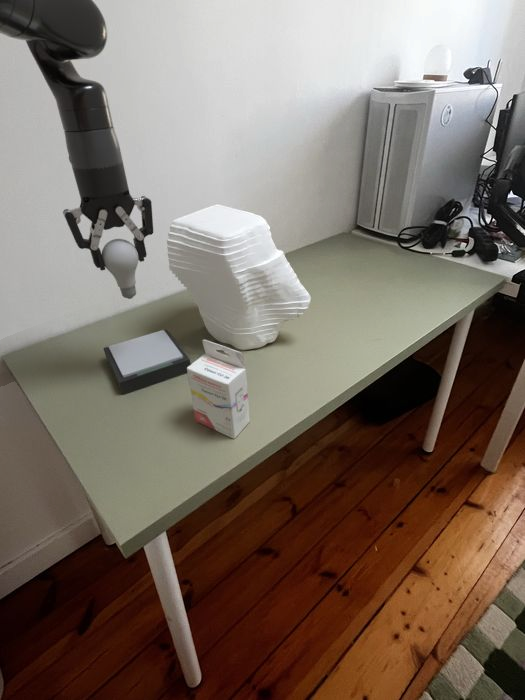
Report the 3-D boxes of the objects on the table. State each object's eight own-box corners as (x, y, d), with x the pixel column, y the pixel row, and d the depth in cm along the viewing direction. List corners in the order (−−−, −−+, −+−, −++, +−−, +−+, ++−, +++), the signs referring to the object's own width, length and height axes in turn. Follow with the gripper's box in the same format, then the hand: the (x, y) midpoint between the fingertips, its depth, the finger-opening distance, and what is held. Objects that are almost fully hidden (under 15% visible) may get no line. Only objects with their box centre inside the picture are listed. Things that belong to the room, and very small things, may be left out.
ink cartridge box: (194, 422, 75) (181, 352, 67) (212, 406, 78) (201, 336, 70) (234, 440, 71) (226, 367, 62) (251, 422, 74) (245, 351, 66)
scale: (123, 395, 82) (118, 380, 80) (106, 359, 92) (102, 345, 90) (192, 371, 87) (189, 356, 85) (169, 340, 98) (166, 326, 96)
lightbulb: (140, 288, 83) (128, 231, 76) (151, 299, 78) (139, 240, 72) (109, 296, 80) (93, 239, 74) (118, 309, 76) (102, 249, 70)
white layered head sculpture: (240, 300, 112) (231, 199, 98) (314, 341, 94) (316, 224, 80) (168, 329, 102) (146, 220, 87) (235, 382, 84) (222, 255, 69)
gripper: (50, 172, 61) (83, 282, 70) (149, 158, 66) (168, 261, 75) (44, 164, 66) (75, 267, 76) (136, 152, 72) (155, 249, 81)
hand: (122, 264), depth 75 cm, fingers closed on lightbulb, 6 cm apart
